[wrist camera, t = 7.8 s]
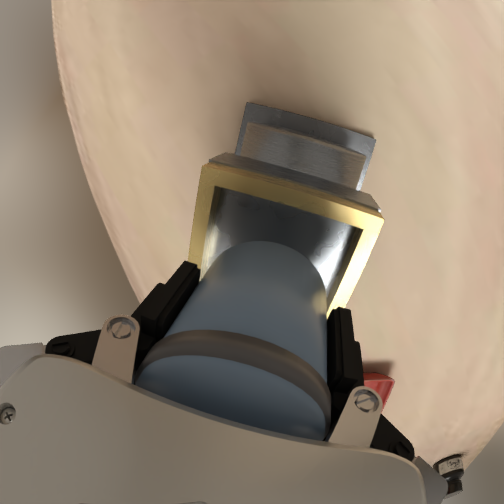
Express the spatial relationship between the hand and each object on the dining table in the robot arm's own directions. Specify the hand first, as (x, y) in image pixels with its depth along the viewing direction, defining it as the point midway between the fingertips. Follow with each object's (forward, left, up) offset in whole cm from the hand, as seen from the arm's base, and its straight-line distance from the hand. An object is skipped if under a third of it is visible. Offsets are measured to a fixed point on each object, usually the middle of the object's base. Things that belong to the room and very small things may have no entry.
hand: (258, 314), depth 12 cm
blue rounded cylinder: (0, 0, -1) cm, 1 cm away
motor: (0, 0, -18) cm, 18 cm away
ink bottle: (+53, +65, -18) cm, 86 cm away
